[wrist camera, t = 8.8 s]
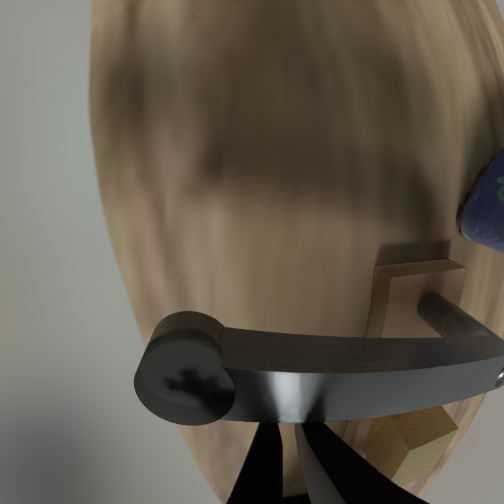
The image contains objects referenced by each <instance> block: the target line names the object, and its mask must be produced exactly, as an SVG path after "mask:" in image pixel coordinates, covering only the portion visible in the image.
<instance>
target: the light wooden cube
mask: <svg viewBox="0 0 504 504" xmlns="http://www.w3.org/2000/svg"><path fill="white" fill-rule="evenodd" d="M458 429H459V428H458V426H457V425H456V424H455V423H454V421H453V420H452V419H451V417H450V416H449V415H448V414H447V412H446V411H445V410H444V408H443V407H442V406H441V405H440V406H435V407H431V408H426V409H422V410H417V411H412V412H406V413H400V414H394V415H388V416H381V417H374V418H373V420H372V423H371V426H370V429H369V431H368V434H367V437H366V439H365V442H364V445H363V447H362V449H363V451H364V453H365V455H366V458H367V460H368V462H369V463H370V464H371V465H372V466H374V467H375V468H376V469H377V470H379V472H381V473H382V474H384V475H385V476H386V477H387V478H389V479H390V480H391V481H393V482H394V483H395V484H397V485H398V486H400V487H401V486H403V485H406V484H408V483H410V482H413V481H415V480H417V479H420V478H422V477H424V476H426V475H428V473H429V472H430V471H431V469H432V468H433V467H434V465H435V464H436V463H437V461H438V460H439V458H440V457H441V455H442V454H443V453H444V451H445V450H446V448H447V447H448V445H449V444H450V442H451V441H452V439H453V437H454V436H455V434H456V433H457V431H458Z"/></svg>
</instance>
